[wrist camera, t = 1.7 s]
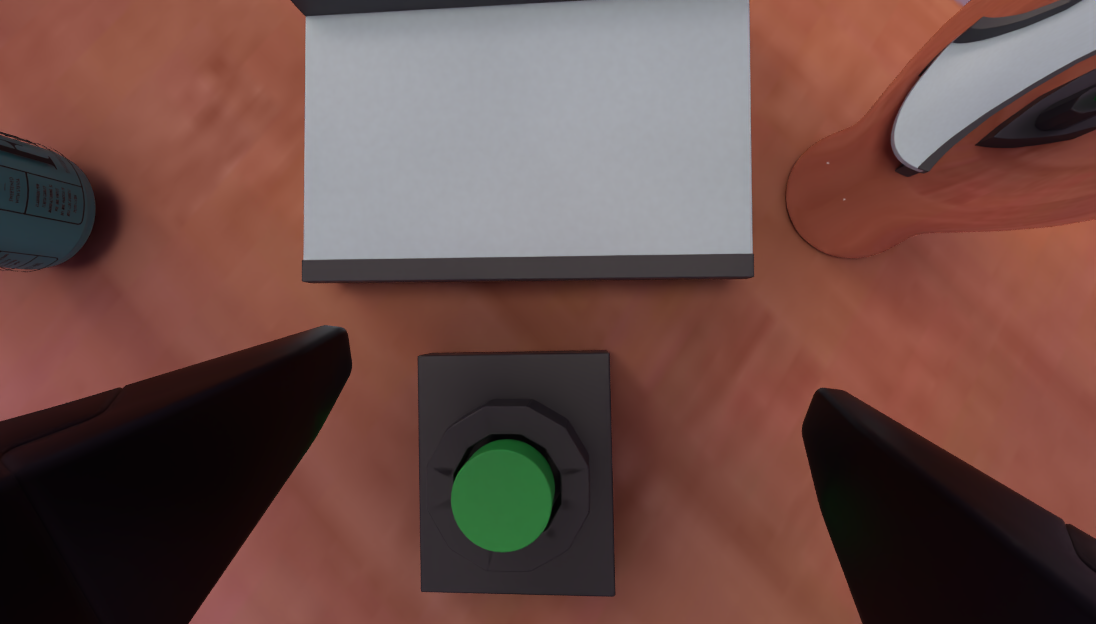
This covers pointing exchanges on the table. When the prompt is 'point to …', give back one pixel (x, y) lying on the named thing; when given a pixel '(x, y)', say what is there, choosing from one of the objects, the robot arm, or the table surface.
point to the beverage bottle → (41, 206)
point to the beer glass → (964, 136)
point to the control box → (547, 425)
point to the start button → (503, 496)
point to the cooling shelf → (527, 140)
